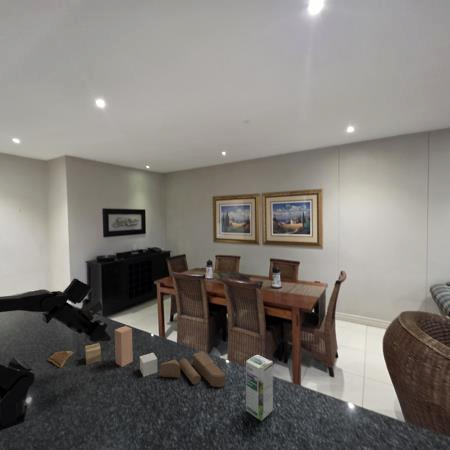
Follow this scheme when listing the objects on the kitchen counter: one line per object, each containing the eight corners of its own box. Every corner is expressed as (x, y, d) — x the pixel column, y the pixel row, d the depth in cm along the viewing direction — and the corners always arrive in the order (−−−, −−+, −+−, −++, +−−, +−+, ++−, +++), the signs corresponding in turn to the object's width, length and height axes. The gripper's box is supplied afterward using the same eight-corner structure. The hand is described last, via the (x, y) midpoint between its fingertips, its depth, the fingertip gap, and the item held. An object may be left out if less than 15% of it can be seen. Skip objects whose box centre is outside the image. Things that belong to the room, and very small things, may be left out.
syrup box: (245, 410, 72) (244, 361, 71) (258, 400, 76) (257, 353, 75) (261, 422, 67) (260, 369, 67) (273, 410, 72) (273, 360, 71)
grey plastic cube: (157, 372, 91) (157, 358, 90) (143, 377, 88) (143, 363, 88) (153, 365, 95) (153, 352, 95) (140, 369, 92) (139, 356, 92)
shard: (60, 369, 94) (60, 365, 94) (38, 372, 92) (38, 367, 92) (73, 354, 104) (73, 350, 104) (53, 356, 103) (53, 352, 103)
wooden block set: (202, 347, 98) (226, 370, 83) (202, 361, 98) (226, 387, 83) (159, 359, 89) (177, 388, 74) (159, 375, 89) (178, 407, 74)
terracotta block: (122, 366, 94) (121, 332, 94) (115, 362, 97) (114, 329, 96) (132, 361, 98) (131, 328, 97) (126, 357, 100) (125, 325, 100)
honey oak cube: (100, 360, 99) (100, 348, 98) (86, 364, 96) (86, 351, 96) (99, 354, 103) (99, 342, 103) (85, 358, 100) (85, 346, 100)
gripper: (100, 298, 80) (132, 321, 89) (74, 289, 91) (105, 310, 101) (74, 332, 74) (111, 352, 83) (50, 317, 85) (85, 337, 94)
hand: (103, 335), depth 91 cm, fingers open, 9 cm apart
